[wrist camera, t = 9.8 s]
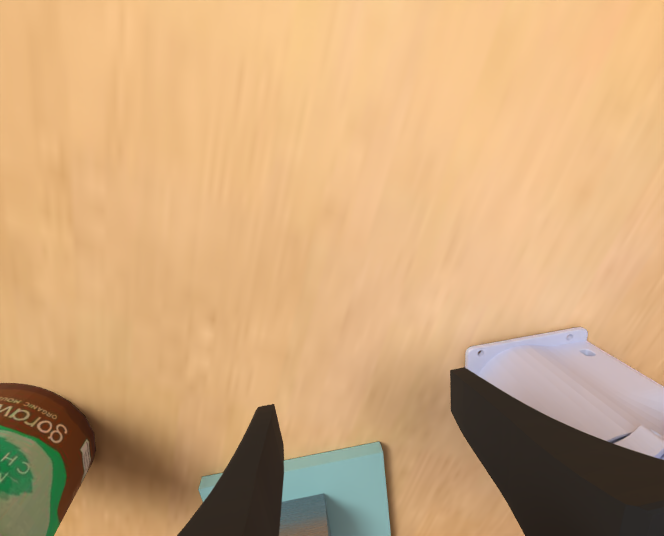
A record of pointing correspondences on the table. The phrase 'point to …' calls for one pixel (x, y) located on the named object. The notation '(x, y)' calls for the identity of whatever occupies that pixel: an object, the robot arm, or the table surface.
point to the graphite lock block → (305, 517)
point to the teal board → (338, 488)
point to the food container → (39, 458)
